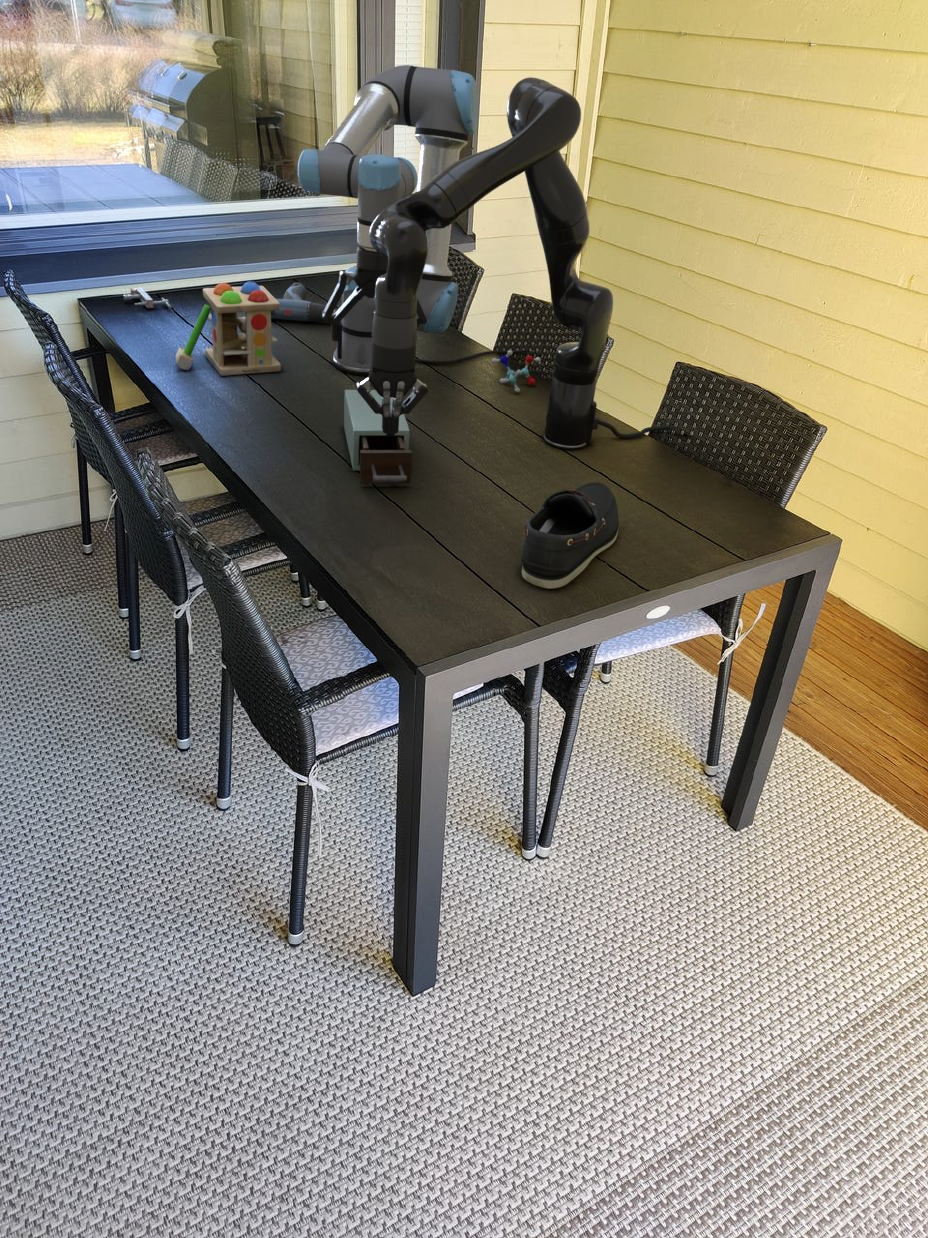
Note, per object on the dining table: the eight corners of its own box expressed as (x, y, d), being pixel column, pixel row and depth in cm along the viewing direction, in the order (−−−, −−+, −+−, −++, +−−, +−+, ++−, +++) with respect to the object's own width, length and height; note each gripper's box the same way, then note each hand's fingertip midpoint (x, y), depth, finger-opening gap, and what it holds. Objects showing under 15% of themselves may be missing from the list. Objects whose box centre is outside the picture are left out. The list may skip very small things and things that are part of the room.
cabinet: (407, 470, 192) (409, 430, 188) (353, 470, 190) (353, 430, 186) (394, 427, 209) (396, 389, 204) (343, 427, 207) (344, 389, 202)
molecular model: (536, 384, 226) (523, 342, 225) (499, 398, 230) (486, 357, 228) (548, 383, 237) (536, 343, 235) (513, 396, 240) (500, 357, 239)
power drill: (344, 304, 276) (335, 327, 259) (277, 298, 275) (264, 321, 258) (344, 285, 273) (335, 306, 256) (277, 279, 272) (264, 300, 255)
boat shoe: (641, 524, 182) (650, 473, 177) (559, 595, 158) (566, 538, 153) (580, 505, 188) (586, 455, 182) (491, 571, 164) (495, 515, 158)
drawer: (414, 498, 181) (416, 467, 177) (363, 498, 179) (364, 467, 175) (397, 440, 201) (398, 411, 197) (350, 440, 199) (351, 411, 195)
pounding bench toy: (183, 379, 220) (176, 299, 210) (169, 357, 231) (162, 280, 221) (282, 371, 230) (280, 294, 220) (264, 350, 240) (262, 276, 230)
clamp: (119, 288, 264) (156, 285, 268) (120, 296, 265) (157, 294, 269) (133, 305, 253) (172, 302, 258) (134, 313, 254) (173, 310, 259)
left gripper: (310, 249, 178) (311, 362, 190) (446, 254, 183) (438, 364, 195) (308, 238, 184) (309, 349, 196) (439, 243, 189) (432, 351, 201)
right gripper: (357, 346, 161) (354, 443, 171) (436, 347, 164) (429, 443, 174) (352, 331, 167) (350, 425, 177) (429, 332, 170) (423, 426, 180)
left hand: (373, 357), depth 195 cm, fingers open, 13 cm apart
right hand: (390, 434), depth 175 cm, fingers closed
